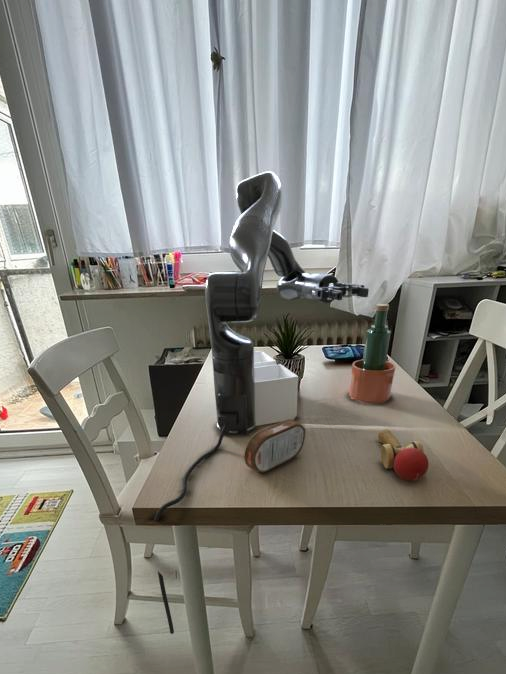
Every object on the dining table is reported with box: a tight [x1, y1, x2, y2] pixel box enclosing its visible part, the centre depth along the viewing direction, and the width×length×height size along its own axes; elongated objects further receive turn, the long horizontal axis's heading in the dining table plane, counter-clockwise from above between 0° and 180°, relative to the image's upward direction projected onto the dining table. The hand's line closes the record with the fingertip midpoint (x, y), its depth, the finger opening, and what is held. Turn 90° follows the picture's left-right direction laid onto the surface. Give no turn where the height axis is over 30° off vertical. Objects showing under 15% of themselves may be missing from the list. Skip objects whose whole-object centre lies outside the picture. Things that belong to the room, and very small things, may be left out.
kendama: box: [377, 428, 430, 482], centre depth 77 cm, size 8×6×18 cm
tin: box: [243, 419, 306, 474], centre depth 77 cm, size 15×3×8 cm, turn 131°
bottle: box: [362, 303, 392, 371], centre depth 102 cm, size 6×6×23 cm
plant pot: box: [348, 359, 397, 404], centre depth 106 cm, size 11×11×9 cm
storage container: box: [254, 350, 299, 427], centre depth 103 cm, size 25×11×11 cm, turn 18°
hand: (354, 294), depth 104 cm, fingers open, 8 cm apart
